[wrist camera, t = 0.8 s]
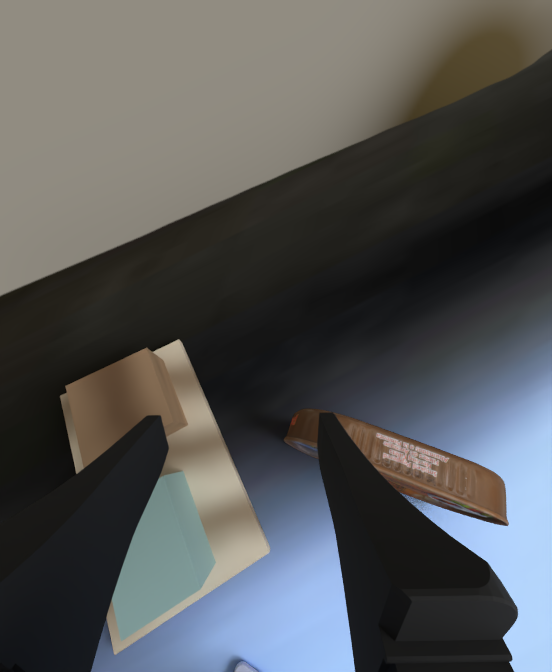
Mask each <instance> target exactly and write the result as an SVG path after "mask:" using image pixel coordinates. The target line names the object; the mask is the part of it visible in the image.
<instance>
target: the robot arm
mask: <svg viewBox="0 0 552 672" xmlns="http://www.w3.org/2000/svg"><path fill="white" fill-rule="evenodd" d="M168 450H169V446H168V442H167V438H166V434H165V430H164V426H163V422H162V418H161V415H147V416H146V417H145V418H143V419H142V420H141V421H140V422H139V423H138V424H136V425H135V426H134V427H133V428H132V429H131V430H130V431H128V432H127V433H126V434H125V435H124V436H123V437H121V438H120V439H119V440H118V441H117V442H116V443H114V444H113V445H112V446H111V447H110V448H109V449H107V450H106V451H105V452H104V453H103V454H101V455H100V456H99V457H98V458H96V459H95V460H94V461H92V462H91V463H90V464H89V465H87V466H86V467H85V468H84V469H82V470H81V471H80V472H79V473H77V474H76V475H74V476H73V477H72V478H70V479H69V480H68V481H66V482H65V483H63V484H62V485H61V486H59V487H58V488H56V489H55V490H53V491H52V492H50V493H49V494H47V495H46V496H44V497H43V498H41V499H40V500H38V501H37V502H35V503H33V504H32V505H30V506H29V507H27V508H25V509H24V510H22V511H21V512H19V513H18V514H16V515H14V516H13V517H11V518H9V519H8V520H6V521H4V522H2V523H1V524H0V672H91V669H92V665H93V662H94V658H95V655H96V651H97V647H98V644H99V640H100V637H101V633H102V630H103V627H104V623H105V620H106V617H107V613H108V610H109V607H110V604H111V600H112V597H113V594H114V591H115V588H116V585H117V582H118V579H119V576H120V573H121V569H122V566H123V564H124V561H125V558H126V555H127V552H128V549H129V546H130V544H131V541H132V538H133V535H134V533H135V531H136V528H137V526H138V523H139V521H140V519H141V517H142V514H143V512H144V510H145V508H146V506H147V503H148V501H149V499H150V497H151V495H152V492H153V490H154V488H155V486H156V483H157V481H158V479H159V477H160V474H161V472H162V469H163V466H164V463H165V460H166V457H167V453H168ZM317 450H318V457H319V464H320V470H321V474H322V479H323V483H324V487H325V491H326V495H327V499H328V503H329V507H330V511H331V515H332V519H333V524H334V529H335V533H336V540H337V546H338V552H339V558H340V565H341V571H342V578H343V585H344V591H345V598H346V606H347V613H348V620H349V627H350V634H351V642H352V650H353V657H354V665H355V672H514V671H513V669H512V667H511V665H510V663H509V662H511V661H512V655H511V653H510V651H509V649H508V648H507V646H506V644H505V642H504V640H503V636H504V635H505V634H506V633H507V632H508V630H509V629H510V628H511V627H512V626H513V624H514V623H515V621H516V619H517V616H518V609H517V606H516V605H515V603H514V602H513V600H512V598H511V597H510V595H509V593H508V592H507V590H506V589H505V587H504V585H503V584H502V582H501V581H500V579H499V578H498V577H497V575H496V574H495V572H494V571H493V570H492V568H491V567H490V565H489V564H488V563H487V562H486V561H485V560H483V559H482V558H481V557H479V556H478V555H476V554H475V553H474V552H472V551H471V550H469V549H468V548H467V547H465V546H464V545H462V544H461V543H459V542H458V541H457V540H455V539H454V538H453V537H451V536H450V535H449V534H447V533H446V532H445V531H444V530H442V529H441V528H440V527H438V526H437V525H436V524H435V523H433V522H432V521H431V520H430V519H429V518H427V517H426V516H425V515H424V514H423V513H422V512H420V511H419V510H418V509H417V508H416V507H415V506H413V505H412V504H411V503H410V502H409V501H408V500H407V499H406V498H405V497H403V496H402V495H401V494H400V493H399V492H398V491H397V490H396V489H395V488H394V487H393V486H392V485H391V484H390V483H389V482H388V481H387V480H386V479H385V478H384V477H383V476H382V475H381V474H380V472H379V471H378V470H377V469H376V468H375V467H374V466H373V465H372V463H371V462H370V461H369V460H368V459H367V458H366V456H365V455H364V454H363V453H362V452H361V450H360V449H359V448H358V446H357V445H356V444H355V443H354V441H353V440H352V439H351V437H350V436H349V435H348V433H347V432H346V430H345V429H344V427H343V426H342V425H341V423H340V422H339V420H338V418H337V417H336V415H335V414H334V413H333V412H328V413H319V425H318V439H317ZM234 672H258V671H257V670H255V669H254V668H253V667H251V666H250V665H249V664H247V663H246V662H244V661H241V662H239V663H238V664H237V665H236V667H235V670H234Z"/></svg>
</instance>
